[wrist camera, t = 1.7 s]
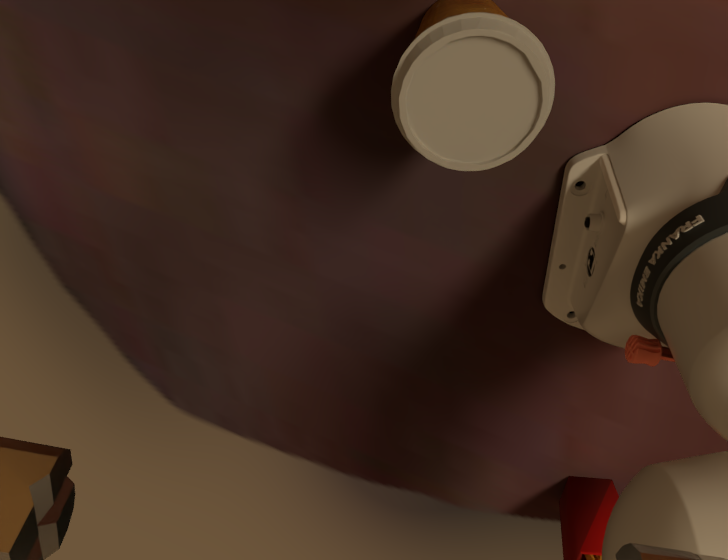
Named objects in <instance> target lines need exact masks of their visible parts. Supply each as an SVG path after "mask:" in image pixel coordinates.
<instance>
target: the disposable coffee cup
mask: <svg viewBox="0 0 728 560" xmlns="http://www.w3.org/2000/svg"><path fill="white" fill-rule="evenodd" d="M554 90H555V79H554V72H553V67H552V64H551V61H550V58H549V56H548V54H547V52H546V50H545V48H544V47H543V45H542V43H541V42H540V41H539V40H538V39H537V38H536V36H535V35H534V34H533V33H532V32H530V31H529V30H528V29H527V28H526V27H524V26H523V25H521V24H519V23H518V22H516V21H514V20H512V19H509V18H508V17H507V16H506V15H505V14H504V13H503V11H501V10H500V8H499V7H498V6H497V5H496V4H495V3H494V2H493V1H492V0H438V1H437V2H435V3H434V4H433V5H432V6H431V7H430V8H429V9H428V11H427V12H426V14H425V15H424V17H423V19H422V21H421V24H420V27H419V29H418V32H417V34H416V36H415V39H414V41H413V42H412V43H411V44H410V46H409V47H408V48H407V49H406V51H405V52H404V53H403V55H402V57H401V59H400V61H399V64H398V66H397V68H396V71H395V73H394V76H393V82H392V88H391V106H392V110H393V114H394V118H395V122H396V124H397V126H398V128H399V130H400V132H401V133H402V135H403V137H404V138H405V139H406V140H407V141H408V143H409V144H410V145H411V146H412V147H413V148H414V149H415V150H416V151H418V152H419V153H420V154H422V155H423V156H424V157H426V158H427V159H429V160H430V161H432V162H434V163H436V164H438V165H441V166H443V167H445V168H449V169H454V170H459V171H479V170H485V169H489V168H493V167H496V166H499V165H501V164H503V163H505V162H507V161H509V160H511V159H513V158H514V157H515V156H517V155H518V154H519V153H521V152H522V151H523V150H524V149H526V148H527V147H528V145H529V144H530V143H531V142H532V141H533V140H534V138H535V137H536V136H537V134H538V133H539V131H540V130H541V128H542V127H543V126H544V124H545V122H546V120H547V118H548V115H549V113H550V111H551V107H552V103H553V99H554Z"/></svg>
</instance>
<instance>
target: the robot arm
mask: <svg viewBox="0 0 728 560" xmlns="http://www.w3.org/2000/svg"><path fill="white" fill-rule="evenodd" d="M578 181H584V183H583V184H582V185H581V186H575V184H576V183H577V182H578ZM542 301H543V304H544V306H545V308H546V309H547V310H548V311H549V312H550V313H551V314H552V315H554V316H555V317H556V318H558V319H560V320H561V321H563V322H565V323H567V324H569V325H572V326H574V327H577V328H580V329H583V330H586V331H587V332H588V333H589V334H591V335H592V336H593V337H595V338H597V339H599V340H601V341H603V342H606V343H608V344H611V345H614V346H617V347H621V348H625V355H626V359H627V361H628V362H630V363H644V364H647V365H649V366H656V365H657V364H658V363H659V361H660V359H662V360H667V361H673V362H676V365H677V367H678V369H679V372H680V374H681V376H682V379H683V381H684V383H685V386H686V388H687V390H688V393H689V395H690V397H691V400H692V402H693V404H694V406H695V408H696V409H697V411H698V412H699V414H700V415H701V416H702V417H703V419H704V420H705V421H706V422H707V423H708V424H709V425H710V427H711V428H712V429H713V430H715V431H716V432H717V433H718V434H719V435H720V436H722V437H723V438H724V439H726V440H727V441H728V105H724V104H717V103H694V104H686V105H681V106H676V107H672V108H669V109H666V110H663V111H660V112H658V113H656V114H653V115H651V116H649V117H647V118H645V119H643V120H641V121H640V122H638V123H636V124H635V125H633V126H632V127H630V128H629V129H628V130H626V131H625V132H624V133H622V134H621V135H620V136H618V137H617V138H616V139H614V140H613V141H611V142H609V143H608V144H606V145H603V146H600V147H597V148H594V149H591V150H588V151H585V152H582V153H580V154H578V155H576V156H574V157H573V158H571V159H570V160H569V161H568V163H567V165H566V167H565V171H564V177H563V182H562V188H561V194H560V199H559V205H558V210H557V216H556V221H555V227H554V233H553V238H552V244H551V249H550V255H549V260H548V266H547V272H546V277H545V283H544V289H543V295H542ZM571 311H574V312H573V313H570V314H569V313H568V312H571ZM71 466H72V458H71V451H70V449H65V448H59V447H53V446H48V445H42V444H37V443H32V442H26V441H21V440H15V439H10V438H4V437H0V560H44V559H46V558H47V557H49V556H50V555H51V554H53V553H54V552H55V551H57V550H58V549H59V548H60V546H61V543H62V541H63V539H64V536H65V534H66V532H67V529H68V526H69V522H70V519H71V516H72V512H73V508H74V499H75V485H74V483H73V482H72V481H71V480H70V479H69V478H68V477H67V474H68V473H69V470H70V468H71ZM602 560H728V451H725V452H718V453H712V454H705V455H699V456H694V457H689V458H683V459H678V460H673V461H667V462H662V463H657V464H651V465H648V466H646V467H644V468H643V469H642V470H640V471H639V472H638V474H637V475H636V476H635V477H634V478H633V479H632V480H631V481H630V482H629V484H628V485H627V486H626V488H625V489H624V490H623V492H622V493H621V495H620V496H619V498H618V500H617V502H616V504H615V506H614V507H613V510H612V512H611V515H610V517H609V520H608V523H607V526H606V530H605V535H604V539H603V546H602Z"/></svg>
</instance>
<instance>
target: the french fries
mask: <svg viewBox="0 0 728 560" xmlns="http://www.w3.org/2000/svg"><path fill="white" fill-rule="evenodd" d="M618 498H619V496H618V493H617V491H616V489H615V486H614V484H613V481H612V480H610V479H598V478H586V477H574V476H569V477H568V480H567V482H566V485H565V488H564V490H563V493H562V496H561V498H560V501H559V507H560V520H561V532H562V545H563V557H564V560H602V546H603V539H604V535H605V530H606V526H607V523H608V520H609V517H610V515H611V512H612V510H613V507H614V506H615V504H616V502H617V500H618Z"/></svg>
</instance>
